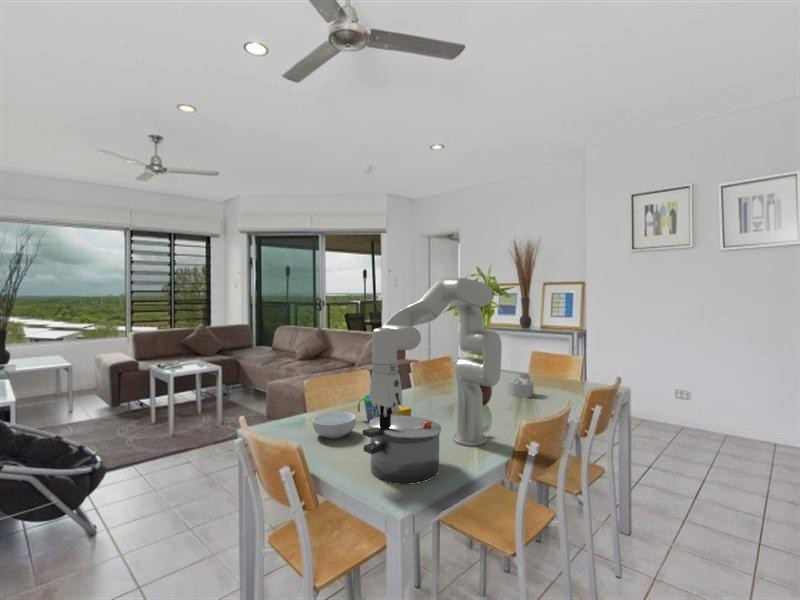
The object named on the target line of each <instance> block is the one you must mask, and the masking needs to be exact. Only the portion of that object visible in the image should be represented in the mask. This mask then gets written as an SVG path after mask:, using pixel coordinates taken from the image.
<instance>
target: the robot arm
mask: <svg viewBox="0 0 800 600" xmlns="http://www.w3.org/2000/svg"><path fill="white" fill-rule="evenodd" d="M492 298H493V291H492V289H491V287H490V285H489V284H488V283H485V282H483V281H478V280H474V279H471V278H466V277H444V278H440V279H439V280H437V281H435V283H433V285H432V286H431V287H429V288H428V290H427V291H426V292H425V293H424V294H423V295H422V296H421V298H420V299H419V300H418V301H416V302H414V303H411V304H409V305H407V306H406V307H404V308H402V309H400V310H398V311H397V312H395V313H394V314H393V315H392V316H391V317H390V318H389V319H388V320H387V321H386V322H385V323H384V324H383V326H382V327H377V328H374V329H373V331H372V335H371V337H372V338H371V340H372V343H371V344H372V345H371V346H372V347H371V348H372V349H371V351H372V354H371V355H372V361H371V362H372V372H371V376H370V383H369V395H370V400H371V402H372V405H373V406H374V407H376V408H377V410H378V414H379V415H380V428H382V429H387V428H390V427H391V415H392V413H393V412H397V411H399V405H402V404H403V391H402V390H403V389H402V380H401V376H400V373H399V372H398V371H399V370H400V369H399V366H398V351H411V350H414V349H416V348H417V347H418V346H419V345H420V343H421V340H422V337H421V333H420V331H419V330H418V328H416V327H415V326H419V325H422V324H423V325H424V324H426V323H430V322H432V321H434V320H436V319H438V317H440V315H441V314H442V312H443V311H444V310H445V309H446V308H447V307H448V306H449V305H450V304H451V303H452V305H453V306H454V307H455V308H456V309H457V311H458V314H459V318H460V320H459V321H460V323H459V348H460V350H461V352H463V353H466V354H468V355H477V356H482V358H478V357H471V356H465V357H464V356H463V357H461V358H459V359H457V360H456V361H455V364H454V376H455V382H456V394H457V395H456V398H457V399H456V405H457V406H456V433H454V434H453V435H452V440H453V442H455V443H456V444H459V445H463V446H468V447H477V446H482V445H484V444H486V443H487V436H486V435H484V432H485V431H487V430H488V429H489V428H488V426H487V424H484V425H483V391H482V388H481V386H484V387H489V388H491V387H495V386H496V385H497V384H498V383H499V381H500V378H501V369H502V340H501V337H500V335H499V334H498V333H497V332H496V331H494V330H489V329H484V320H483V319H484V317H483V313H482V312H483V311H482V310H481V308H480V307H486V306H488V305H489V304H490V303H491V301H492Z"/></svg>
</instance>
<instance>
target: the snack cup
mask: <svg viewBox="0 0 800 600" xmlns="http://www.w3.org/2000/svg"><path fill="white" fill-rule="evenodd" d="M361 401H363V402H364V408H365V415H366V420H367V421H369V422H370V420H372V419H374V418H377V417H380V415H379V414H378V410H377V408H376V407H374V406H373V405H372V402H371V400H370V394H367V395H364V396H363V397H362V398H361V399H359V401H358V403H357V412H358V413H360V412H361V409H360V408H361V406H360V403H361Z"/></svg>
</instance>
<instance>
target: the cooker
mask: <svg viewBox="0 0 800 600" xmlns="http://www.w3.org/2000/svg"><path fill="white" fill-rule="evenodd" d="M363 452H364V453H367V454H370V472H371V474H372V475H373V477H374V478H376V477H377V479H378V480H381V481H382V480H383V481H382V482H385V481H387V482H386V483H389V482H391V484H394V483H397V484H396V485H410V484H409V483H416V484H418V483H417V482H422V481H425V480H428V479H430V478H432V477H434V476H435V477H437V475H438V474H439V472H440V434H438V435H436V436H434V437H429V438H420V439H408V438H396V437H390V436H386V435H381V436H376V437H372V438H370V442H369V443H368V444H365V445H363ZM437 473H438V474H437ZM435 477H434V478H435ZM432 479H433V478H432ZM430 480H431V479H430ZM428 481H429V480H428ZM425 482H426V481H425ZM398 483H399V484H398ZM422 483H423V482H422Z"/></svg>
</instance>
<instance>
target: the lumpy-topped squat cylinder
mask: <svg viewBox="0 0 800 600" xmlns="http://www.w3.org/2000/svg"><path fill="white" fill-rule="evenodd" d="M507 395H509V396H511V397H514V396H515V397H514V398H522V397H527V398H528V397H531V398H532V397H533V396H534V381H531V380H530V379H527V378H525V377H520V378H518V377H513V378H512V379H508V380H507ZM532 395H533V396H532ZM527 398H526V399H527ZM528 399H529V398H528Z"/></svg>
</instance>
